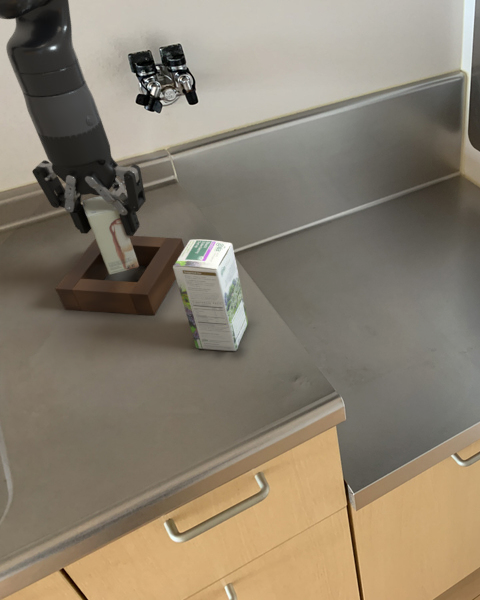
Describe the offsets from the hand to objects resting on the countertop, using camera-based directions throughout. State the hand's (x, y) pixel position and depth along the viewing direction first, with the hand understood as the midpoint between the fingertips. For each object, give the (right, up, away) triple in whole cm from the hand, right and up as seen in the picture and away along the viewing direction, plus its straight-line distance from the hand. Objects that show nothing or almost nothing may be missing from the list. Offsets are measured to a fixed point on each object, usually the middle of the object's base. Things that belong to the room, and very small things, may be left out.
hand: (109, 231), depth 87 cm
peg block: (0, -7, +6) cm, 10 cm away
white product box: (0, -4, +4) cm, 6 cm away
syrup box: (+17, -15, -2) cm, 23 cm away
